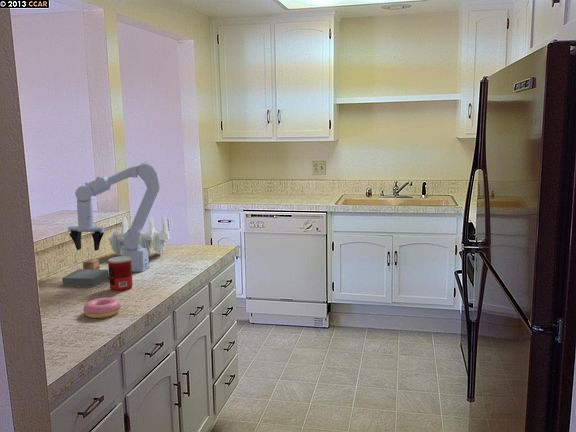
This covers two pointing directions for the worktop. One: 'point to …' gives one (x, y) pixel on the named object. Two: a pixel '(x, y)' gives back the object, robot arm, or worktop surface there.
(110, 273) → the canned food
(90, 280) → the charcoal stand
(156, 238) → the white irregular piece
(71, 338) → the worktop surface
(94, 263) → the terracotta block
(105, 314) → the doughnut
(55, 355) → the worktop surface
